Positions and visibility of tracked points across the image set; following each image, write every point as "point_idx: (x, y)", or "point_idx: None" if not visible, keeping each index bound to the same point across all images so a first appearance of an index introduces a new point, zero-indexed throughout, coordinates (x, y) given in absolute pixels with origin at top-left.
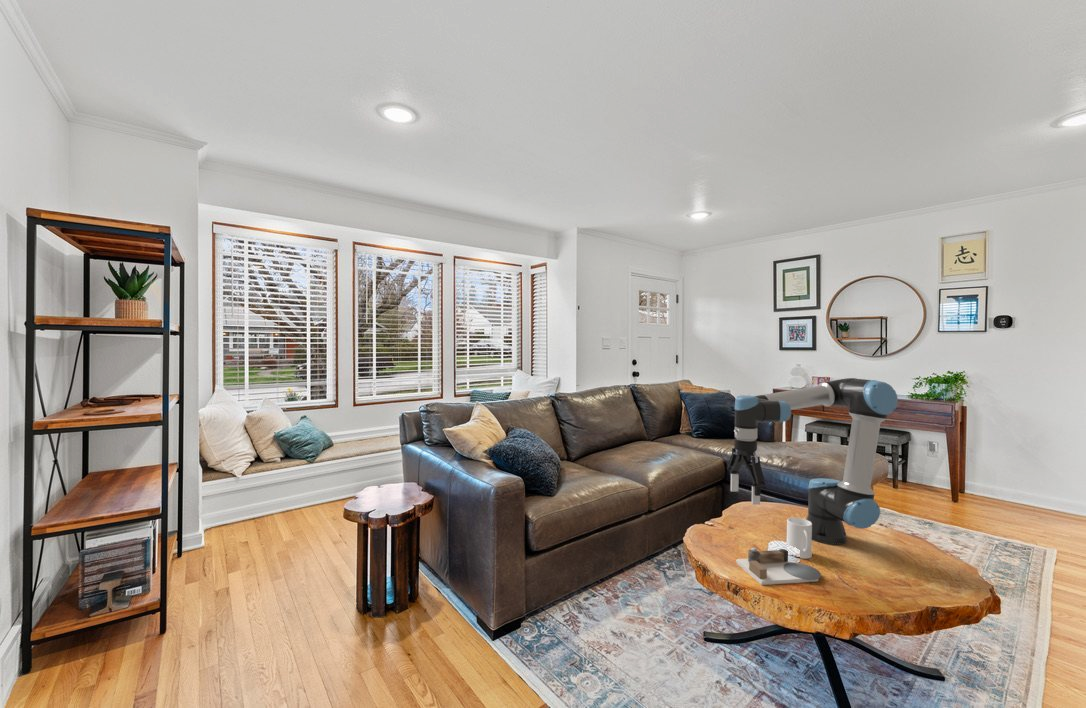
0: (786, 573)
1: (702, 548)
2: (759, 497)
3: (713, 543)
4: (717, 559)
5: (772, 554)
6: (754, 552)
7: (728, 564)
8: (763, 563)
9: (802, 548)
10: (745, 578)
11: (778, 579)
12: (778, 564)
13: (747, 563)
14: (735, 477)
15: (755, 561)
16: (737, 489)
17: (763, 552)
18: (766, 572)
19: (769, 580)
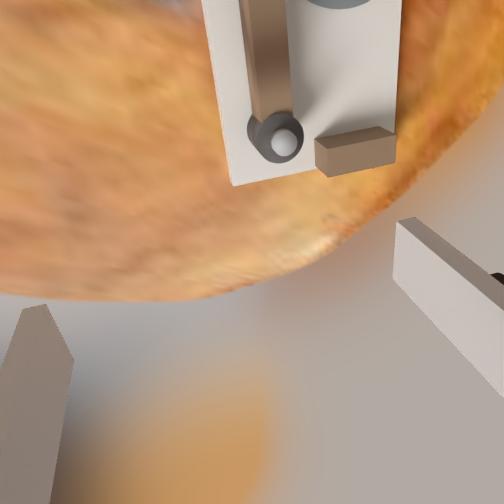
0: (355, 17)
1: (117, 273)
2: (454, 254)
3: (52, 222)
4: (208, 240)
5: (287, 44)
6: None
7: (245, 213)
8: None
9: None
10: (341, 186)
11: (391, 81)
12: None
13: None
14: (28, 473)
15: (334, 154)
16: (47, 326)
17: (274, 88)
18: (390, 132)
19: (392, 121)
